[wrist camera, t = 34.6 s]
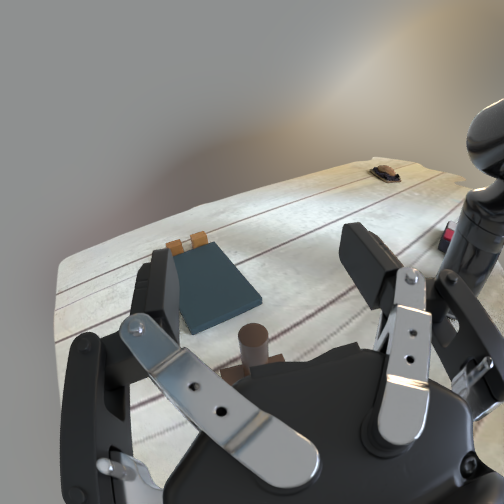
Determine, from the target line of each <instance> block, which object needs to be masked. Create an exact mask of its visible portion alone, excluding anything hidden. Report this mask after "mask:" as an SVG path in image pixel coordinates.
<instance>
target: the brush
mask: <svg viewBox="0 0 504 504" xmlns="http://www.w3.org/2000/svg"><path fill="white" fill-rule="evenodd" d="M238 339H239V346H240V352H241V359H242V365H238V366H234V367H230V368H225V369H221V370H220V373H221V377H222V379H223V380H224V381H225V382H226V383H228V384H229V385H230V386H232V385H233V384H234V383H236V382H237V381H238V380H240V379H242V378H244V377H246V376H248V375H250V369H249V367H252V366H258V365H263V364H268V363H273V362H285V360H284V357H283V355H282V354H279V355H275V356H272V357H268V331H267V329H266V328H265V327H264V326H262V325H260V324H257V323H250V324H247V325H245V326H243V327H242V328H241V329H240V331H239V333H238Z"/></svg>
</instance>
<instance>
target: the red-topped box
mask: <svg viewBox="0 0 504 504" xmlns="http://www.w3.org/2000/svg"><path fill="white" fill-rule="evenodd" d="M456 225H457V223H455V222H453V221H450V222H448V223H447V226H446V228H445V230H444V233H443V235H442V237H441V240H440V243H439V246H438V249H439V250H441V251H443V252H445V253H446V252H447V249H448V247H449V244H450V242H451V239H452V236H453V234H454V231H455V228H456Z"/></svg>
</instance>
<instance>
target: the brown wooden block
mask: <svg viewBox="0 0 504 504" xmlns="http://www.w3.org/2000/svg"><path fill="white" fill-rule="evenodd" d="M190 238H191V243H192V247H193V249H195V248H197V247H200V246H203V245H205V244H208V239H207V235H206V233H205V232H204V231H202V232H198V233H195V234H192V235H190Z"/></svg>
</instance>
